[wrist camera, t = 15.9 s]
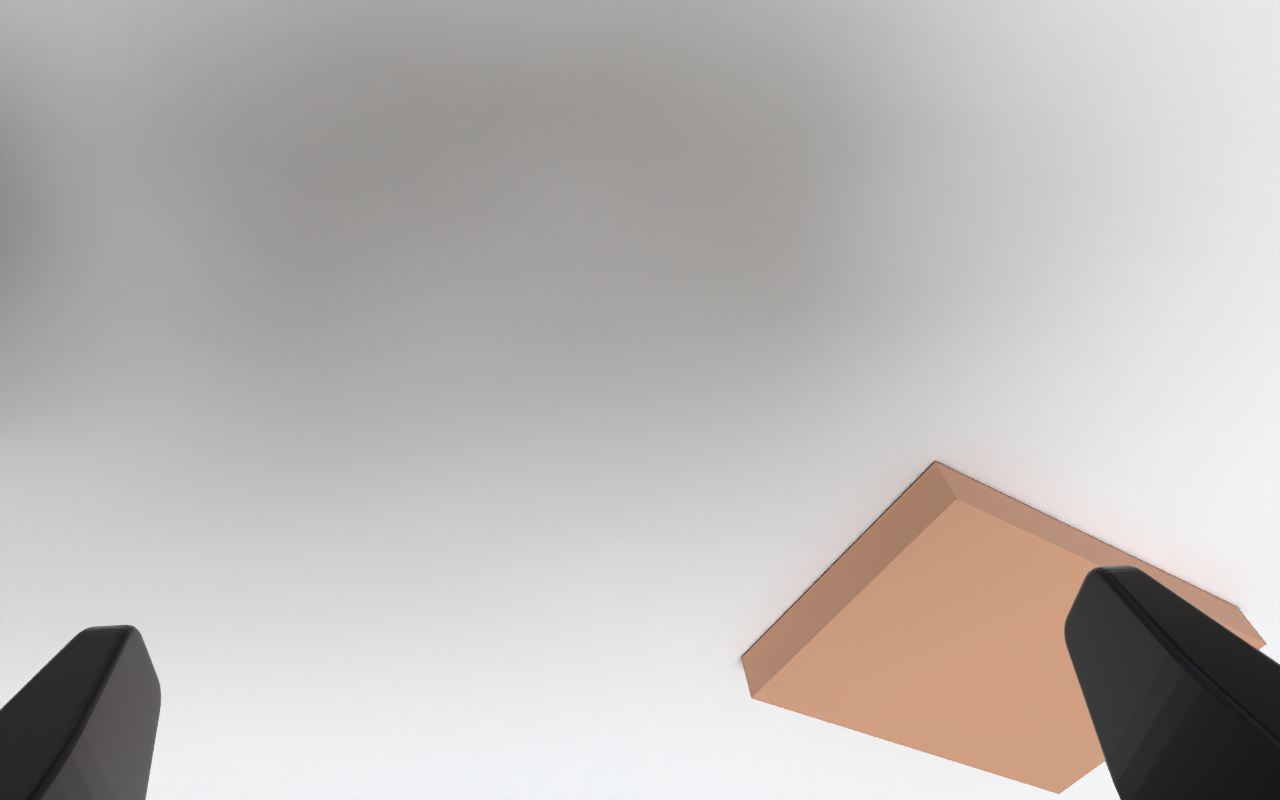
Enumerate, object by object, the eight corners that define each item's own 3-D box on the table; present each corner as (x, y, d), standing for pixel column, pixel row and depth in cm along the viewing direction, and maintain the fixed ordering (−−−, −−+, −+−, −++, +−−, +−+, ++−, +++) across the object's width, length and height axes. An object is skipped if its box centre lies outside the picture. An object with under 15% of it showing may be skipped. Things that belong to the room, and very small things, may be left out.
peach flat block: (741, 657, 31) (751, 697, 30) (935, 461, 27) (956, 498, 26) (1040, 756, 37) (1059, 793, 35) (1238, 607, 32) (1266, 643, 31)
